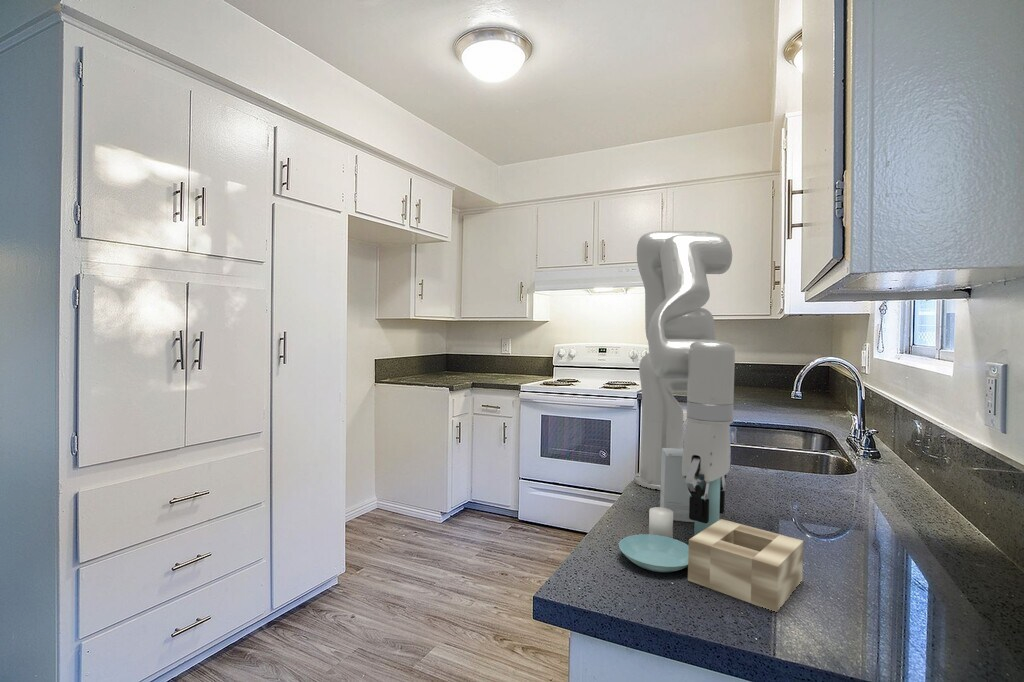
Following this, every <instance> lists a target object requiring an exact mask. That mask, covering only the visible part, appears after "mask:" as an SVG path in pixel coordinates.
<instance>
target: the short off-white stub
mask: <svg viewBox="0 0 1024 682" xmlns="http://www.w3.org/2000/svg"><path fill="white" fill-rule="evenodd" d="M648 513H649V517H648V522H649V523H648V535H659V536H665V537H669V538H673V539H674V537H673V536H674V535H673V533H674V531H673V530H674V520H673V511H672V510H670V509H667V508H662V507H660V506H659V507H658V506H655V507H651V508H649V511H648Z"/></svg>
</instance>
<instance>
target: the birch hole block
mask: <svg viewBox="0 0 1024 682" xmlns="http://www.w3.org/2000/svg"><path fill="white" fill-rule="evenodd" d="M688 545H689V551H688V566H687V581H688V582H691V583H693V584H697V585H699V586H702V587H705V588H708V589H710V590H713V591H715V592H718V593H721V594H724V595H727V596H730V597H732V598H735V599H737V600H741V601H743V602H746V603H749V604H751V605H754V606H757V607H759V608H762V607H763V609H765V608H766V610H768V609H769V610H768V611H771V610H772V611H771V612H773V611H775V612H774V613H776V612H779V610H780V609H781V608H782V606H784V604H785V603H786V602H787V601H788V600H789V598H790V597H791V596H790V595H793V593H794V592H795V591H796V590H797V588H798V587H799V586H800V585H801V583H802V582H803V570H804V569H803V565H804V540H803V539H799V538H794V537H791V536H789V535H788V536H787V535H783V534H780V533H776V532H773V531H769V530H764V529H761V528H758V527H754V526H750V525H747V524H742V523H737V522H734V521H731V520H726V519H723V518H719V521H717V522H716V523H714V524H712V525H711V526H709V527H708V528H706V529H705V530H703V531H701V532H700V533H698V534H697V535H695V536H694V535H693V536H692V537H691V538H689V539H688ZM801 581H802V582H801ZM800 582H801V583H800ZM799 584H800V585H799ZM798 585H799V586H798ZM797 586H798V587H797ZM796 587H797V588H796ZM794 590H795V591H794ZM793 591H794V592H793ZM792 592H793V593H792ZM785 601H786V602H785ZM780 607H781V608H780Z"/></svg>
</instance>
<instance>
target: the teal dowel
mask: <svg viewBox="0 0 1024 682" xmlns="http://www.w3.org/2000/svg"><path fill="white" fill-rule="evenodd" d="M697 479H702V480H704V477H703V476H698V477H697ZM697 485H700V487H701V489H703V484H701V483H697ZM707 499H709V522H708V523H702V522H698V521H694V522H693V523H694V524H693V525H694V527H693V531H694V533H693V537H694V536H695V535H697V534H698V533H700V532H701V531H703V530H705V529H706V528H708V527H709V526H711V525H712V524H714V523H716V522H717V521H719V520H720V513H719V511H720V478H718V479H716V480H714V481H712V482H710V483H709V489H708V495H707Z"/></svg>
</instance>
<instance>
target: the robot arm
mask: <svg viewBox="0 0 1024 682" xmlns="http://www.w3.org/2000/svg"><path fill="white" fill-rule="evenodd" d="M636 261H637V263H636V264H637V266H638V272H639V274H640V278H641V280H642V284H643V288H644V302H645V303H644V314H645V315H644V317H645V318H644V323H645V328H644V329H645V336H646V340H647V343H648V353H646V354H645V355H643V356H642V358H641V359H640V362H639V366H638V370H639V381H640V387H641V402H642V404H641V445H640V446H641V447H640V449H641V452H640V472H637V473H636V474H634V476H633V481H634V483H635V484H637V485H638V486H640V485H641V486H640V487H643V488H646V487H647V488H646V489H650V488H651V489H650V490H655V489H657V490H656V491H661V455H662V448H675V449H683V458H682V476H683V477H684V478H686V479H685V483H686V485H687V486H688V490H689V497H690V499H689V518H690V519H691V520H694V521H698V522H702V523H708V522H709V499H707V495H708V489H709V483H710V482H712V481H714V480H716V479H718V478H720V511H719V515H722V514H724V513H725V501H726V500H725V498H726V497H725V496H726V495H725V494H726V491H725V490H726V486H727V484H726V478H727V474H728V473H729V472H730V467H731V449H732V448H731V429H730V428H731V427H730V426H731V425H732V424H733V423H734V399H735V398H734V397H735V395H734V394H735V393H734V392H735V391H734V390H735V361H736V359H735V358H736V353H735V352H736V350H735V347H734V345H733V344H731V343H730V342H726V341H720V340H716V339H717V336H716V333H717V332H716V323H715V319H714V317H713V314H712V312H710V310H708V309H707V308H704V307H703V306H705V305H706V304H707V302H708V301H709V300H710V296H711V293H710V287H709V283H708V277H707V275H723V274H725V273H726V272H727V271H729V269H730V267H731V265H732V262H733V250H732V245H731V243H730V241H729V240H728V238H727V237H726V236H725V235H723V234H720V233H715V232H713V231H705V230H704V231H703V230H702V231H700V230H696V231H695V230H694V231H693V230H688V231H687V230H685V231H684V230H656V231H651V232H647V233H644V234H643V235H641V237H639V239H638V241H637V245H636ZM673 393H686V394H687V395H686V421H687V422H686V426H685V431H684V410H683V408H682V406H681V404H680V402H679V401H678V400H677V399H676V397H675V396H674V394H673ZM640 474H641V475H640ZM639 475H640V476H639ZM698 476H703V477H704V480H702V479H697V477H698ZM634 479H635V480H634ZM697 483H701V484H703V489H701V487H700V485H697Z"/></svg>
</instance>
